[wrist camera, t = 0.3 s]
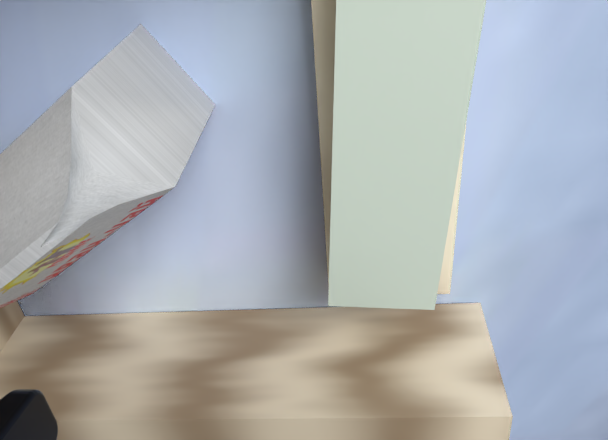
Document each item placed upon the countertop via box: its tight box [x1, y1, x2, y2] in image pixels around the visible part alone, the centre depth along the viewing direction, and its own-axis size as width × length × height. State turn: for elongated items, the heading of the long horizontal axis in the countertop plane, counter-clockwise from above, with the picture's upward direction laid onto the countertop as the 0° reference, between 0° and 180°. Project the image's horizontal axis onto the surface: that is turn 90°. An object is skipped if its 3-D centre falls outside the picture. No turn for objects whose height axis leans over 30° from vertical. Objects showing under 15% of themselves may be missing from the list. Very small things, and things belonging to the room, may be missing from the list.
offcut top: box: [328, 0, 486, 310], centre depth 18 cm, size 4×14×2 cm, turn 0°
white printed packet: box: [0, 24, 215, 308], centre depth 17 cm, size 4×7×10 cm, turn 129°
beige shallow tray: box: [0, 301, 513, 440], centre depth 19 cm, size 23×22×6 cm
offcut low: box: [311, 0, 466, 294], centre depth 20 cm, size 5×16×2 cm, turn 4°
